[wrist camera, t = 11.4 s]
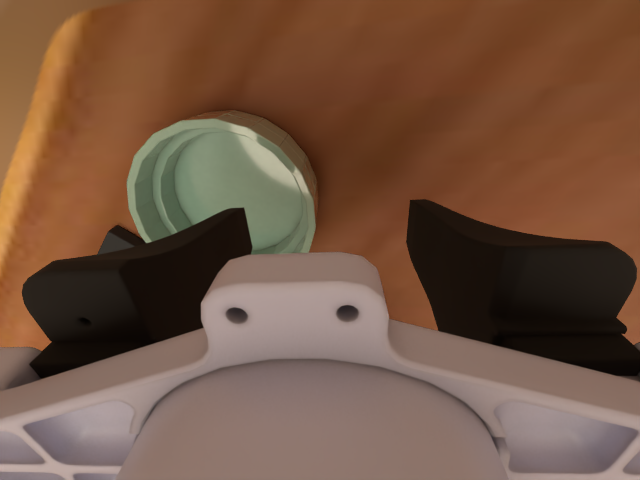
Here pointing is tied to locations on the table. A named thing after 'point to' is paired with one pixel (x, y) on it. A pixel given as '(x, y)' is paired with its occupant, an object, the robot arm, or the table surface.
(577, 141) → the table surface
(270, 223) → the bowl
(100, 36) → the table surface
